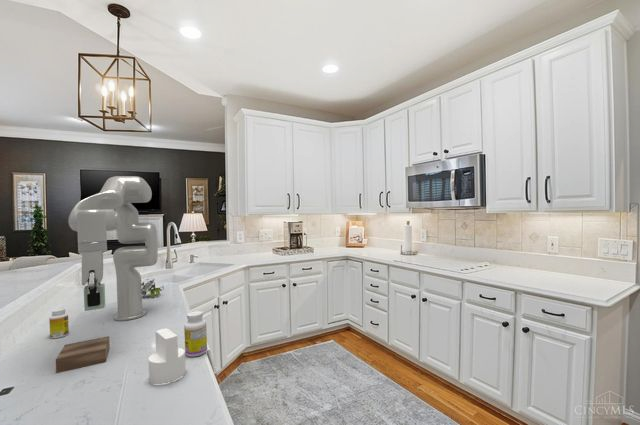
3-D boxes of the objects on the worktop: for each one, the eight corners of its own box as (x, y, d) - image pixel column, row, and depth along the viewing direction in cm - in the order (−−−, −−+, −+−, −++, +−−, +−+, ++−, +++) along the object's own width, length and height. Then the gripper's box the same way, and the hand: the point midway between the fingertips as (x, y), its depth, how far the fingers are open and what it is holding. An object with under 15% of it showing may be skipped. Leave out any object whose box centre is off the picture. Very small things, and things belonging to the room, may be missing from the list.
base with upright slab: (145, 377, 85) (143, 334, 85) (178, 365, 92) (177, 324, 92) (155, 389, 79) (153, 343, 79) (190, 375, 85) (189, 332, 85)
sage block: (86, 307, 100) (85, 285, 100) (105, 304, 103) (104, 283, 103) (84, 311, 96) (83, 288, 96) (104, 308, 98) (103, 286, 98)
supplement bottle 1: (67, 336, 117) (66, 310, 117) (48, 340, 115) (47, 313, 115) (70, 332, 122) (69, 306, 122) (52, 335, 120) (51, 309, 120)
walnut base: (65, 357, 100) (64, 344, 100) (109, 347, 106) (109, 336, 106) (56, 373, 89) (55, 359, 89) (106, 361, 95) (105, 348, 95)
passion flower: (143, 307, 172) (135, 289, 175) (163, 299, 180) (155, 281, 183) (147, 299, 165) (138, 280, 168) (167, 291, 173) (158, 273, 176)
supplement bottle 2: (185, 350, 101) (184, 311, 101) (207, 346, 104) (205, 308, 104) (184, 359, 95) (183, 318, 95) (207, 355, 97) (205, 314, 97)
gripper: (82, 246, 105) (84, 299, 105) (73, 251, 90) (76, 312, 90) (108, 244, 108) (110, 296, 108) (104, 248, 94) (107, 308, 94)
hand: (95, 303), depth 99 cm, fingers closed on sage block, 5 cm apart
